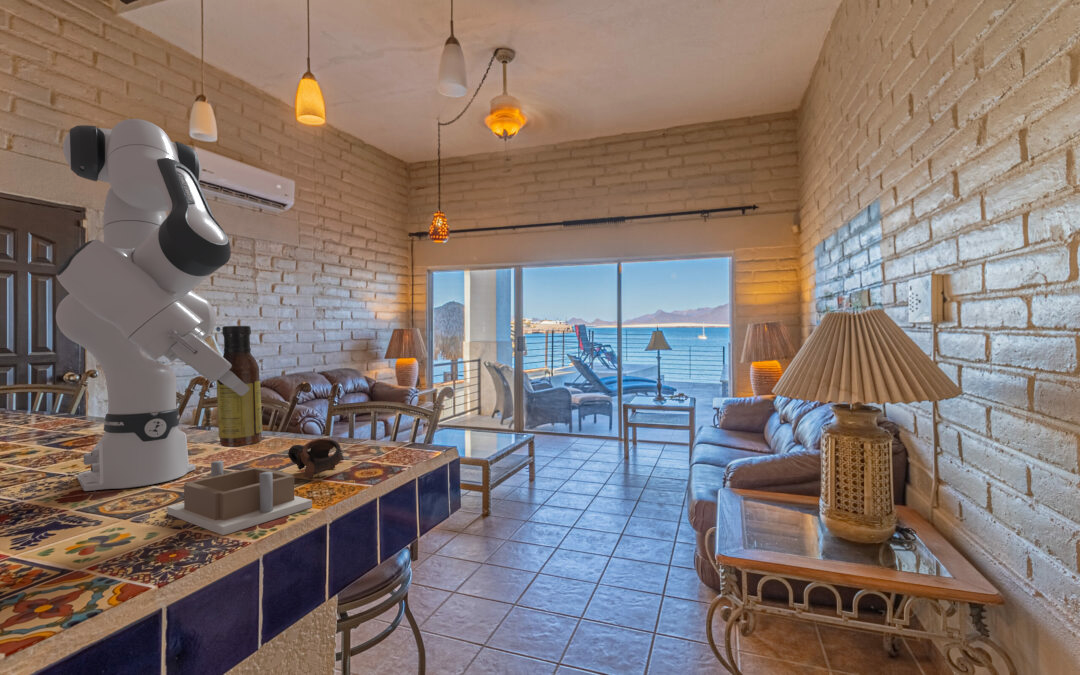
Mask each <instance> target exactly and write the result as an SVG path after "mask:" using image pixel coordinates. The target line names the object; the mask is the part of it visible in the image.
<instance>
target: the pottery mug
mask: <svg viewBox="0 0 1080 675" xmlns="http://www.w3.org/2000/svg"><path fill="white" fill-rule="evenodd" d="M334 448H335V452H334V453H333V454H331V455H329V453H330V451H331V450H333V449H334ZM342 452H343V450H342V449H341V446H340V443H339V442H338V441H336V440H333V439H330V438H322V437H321V438H315V439H312V440H309V441H308V442H307V443H306V444H305V445H302V444H293V445H292V446H290V448H289V449H288V452H287V455H288V457H289V459H290V461H291V462H292V463H293V464H295V465H296V466H297V468H298V470H300V471H301V470H303V469H304V468H305V469H304V472H303V473H304V474H303V476H304V477H305V478H307V479H310V480H311V479H312V478H313V477H314V475H317V474H320V473H323V472H326V471H329V470H331V469H334V468H335V467H336V466H337V465H338V464H340V462H341V461H345V458H344V455H343V453H342Z"/></svg>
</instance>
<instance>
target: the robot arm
mask: <svg viewBox="0 0 1080 675" xmlns="http://www.w3.org/2000/svg"><path fill="white" fill-rule="evenodd" d="M62 146H63V147H62V149H63V155H64V158H65V161H66V162H67V164H68V165H69V167H70V170H71V172H73V173H74V174H75V175H77V177H80V178H83V179H85V180H89V181H93V182H98V181H100V182H104V183H106V184H109V185H110V187H109V189H108V191H107V193H106V196H105V201H104V206H103V218H102V220H103V221H102V229H103V230H102V231H103V241H102V240H100V239H92V240H89V241H86V242H85V243H83V244H81V245H80V246H79V247H78V248H76V249H75V250H74V252H73V253H71V254H70V255H68V256H67V257H66V258H65V259H64V261H62V263H60V264H59V266H58V267H57V269H56V274H55V276H56V278H57V280H58V283H60V285H61V286H62V287H63V288H64V290H66V292H68V293H69V294H67V295H66V296H65V297H64V298H63V299H62V300H61V301H60V302H59V304H58V305H57V308H56V313H55V321H56V325H57V327H58V329H59V330H60V332H61V333H62V334H63V335H64V336H65V337H66V338H67V339H69V341H72V342H73V343H75V344H77V345H79V346H80V347H82V348H83V349H85V350H86V351H87V352H89V353H90V354H91V355H92V356H93V357H94V358H95V359H96V361H97V362H98V364H99V365H100V367H101V370H102V372H103V374H104V376H105V383H106V391H107V403H108V404H107V408H108V409H107V410H108V411H107V413H106V414H105V419H104V421H103V432H104V434H103V435H102V437H101V438H100V439H99V441H98V442H97V444H96V445H95V446H94V448H93V449H92V450H91V452H87V453H83V464H84V465H85V466H88V465H91V467H90V470H86V471H83V472H80V473H78V474H77V480H78V482H79V485H80V487H81V488H82V490H83V491H84V492H89V491H97V490H98V491H99V490H110V489H111V490H112V489H113V490H115V489H130V488H137V487H145V486H149V485H154V484H159V483H160V484H161V483H165V482H169V481H172V480H176V479H179V478H181V477H183V476H185V475H187V474H188V473H190V472H192V471H194V470H196V464H194V463H189V462H190V460H189V453H188V452H189V451H188V442H187V441H188V438H187V434H186V433H185V432H184V431H182V430H181V429H180V428H179V426H180V411H179V410H180V409H179V408H177V376H176V373H175V372H174V371H173V369H171V367H169V366H168V365H165V364H164V363H161V362H159V361H156V360H159V359H160V358H161V357H165V358H166V359H168V360H169V361H170V362H174V361H175V360H180V361H181V362H183V363H185V364H186V365H187V366H189V367H190V368H192V369H193V370H195V371H196V372H197V373H198V374H200V375H201V376H202V377H203V378H204V379H206V380H208V381H209V382H211V383H215V382H216V383H217V380H219V381H220V382H221V383H223V384H224V385H226V386H227V387H229V388H230V389H232V390H233V391H235V392H236V393H237V394H238V395H240V396H243V395H245V394H246V393H247V392H248V391H249V387H248V386H247V385H246V384H245V383H243V382H242V381H241V380H240V379H239V378H238V377H237V376H236V375H235V374H234V373H233V372H231V371H230V370H229V369H230V368H231V367H232V365H231V364H230V363H229V362H228V361H227V360H226V359H225V358H224V357H223V356H222V355H221V354H220V353H218V351H217V350H215V349H214V348H213V347H211V345H210V344H209V343H208V342H207V341H206V339H207V338H208V337H210V335H211V334H212V332H213V331H214V329H215V326H216V321H217V316H216V312H215V309H214V307H213V306H212V304H211V302H209V301H208V300H207V299H206V298H204V297H203V296H201V295H199V294H197V293H196V292H195V291H194V289H195V288H196V287H198V286H199V285H200V284H201V283H202V282H203V281H204V280H206V278H208V277H209V276H210V275H212V274H213V273H215V272H216V271H218V270H219V269H220V268H222V267H223V266H225V265H226V264H227V263H228V262H229V261H230V259H231V257H232V256H231V255H232V254H231V253H232V252H231V250H232V249H231V244H230V240H229V237H228V236H227V233H226V232H225V230H224V229H223V228H222V226H221V225H220V224H219V223H218V221H217V220H216V218H215V216H214V213H213V211H212V209H211V206H210V204H209V203H208V200H207V198H206V195H205V193H204V191H203V188H202V186H201V184H200V180H201V177H202V173H203V172H202V171H203V170H202V169H203V168H202V164H201V161H200V159H199V156H198V155H199V154H198V153H197V152H196V150H195V149H194V148H193V147H191V146H189V145H187V144H184V143H181V142H179V141H174V142H173V141H171V139H170V137H169V135H168V134H167V133H166V132H165V131H164V130H163V128H161V127H160V126H158V125H156V124H155V123H153V122H151V121H148V120H145V119H141V118H127V119H124V120H121V121H119V122H118V123H116V124H115V125H114V126H113V127H112V128H101V127H97V126H96V125H89V124H88V125H84V124H83V125H75V126H73V127H72V128H70V129H69V132H68V133H67V134H66V136H65V138H64V140H63V145H62ZM167 212H168V214H167ZM141 351H142V352H144V353H145V354H146V355H148V356H149V357H150V358H152V359H150V358H147V357H146V356H144V355H143V354H142V352H141Z"/></svg>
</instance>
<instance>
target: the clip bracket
mask: <svg viewBox="0 0 1080 675" xmlns="http://www.w3.org/2000/svg"><path fill="white" fill-rule="evenodd" d="M210 474H211V475H210V476H208V477H203V478H199V479H194V480H191V481H190V480H189V481H186V482H184V484H183V488H184V489H183V490H184V491H183V493H184V496H183V498H184V499H183V500H184V502H181V503H177V504H173V505H172V504H171V505H169V506H167V508H166V510H167V512H166V513H167V515H169V516H171V517H174V518H177V519H179V520H181V521H185V522H188V523H190V524H192V525H195V526H198V527H200V528H202V529H206V530H207V531H210V532H213V533H216V534H218V535H221V536H225V535H229V534H232V533H235V532H239V531H242V530H244V529H248V528H250V527H251V528H252V527H254V526H257V525H260V524H264V523H266V522H270V521H273V520H276V519H279V518H283V517H286V516H289V515H291V514H292V515H293V514H295V513H299V512H301V511H302V512H303V511H305V510H309V509H311V508H313V500H312V499H308V498H307V497H306V498H304V497H301V496H298V495H295V476H294V474H292V473H289V472H283V471H281V470H275V469H271V468H266V467H250V468H244V469H241V470H236V471H231V472H226V473H224V460H215V461H211V463H210Z"/></svg>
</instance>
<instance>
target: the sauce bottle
mask: <svg viewBox="0 0 1080 675" xmlns="http://www.w3.org/2000/svg"><path fill="white" fill-rule="evenodd" d="M221 333H222V337H223V346H224V348H223V356H222V357H224V358H225V359H226V360H227V361H228V362H229V363H230V364H231V365H232V367H231V368H230V369H229V370H230V371H231V372H233V373H234V374H235V375H236V376H237V377H238V378H239V379H240V380H241V381H242V382H243V383H245V384H246V385H247V386H248V387H249V391H248V392H247V393H246V394H245V395H243V396H240V395H238V394H237V393H236V392H235V391H233V390H232V389H230V388H229V387H227V386H226V385H224V384H223V383H221V382H220V381H219V380H217V381H216V396H217V397H216V398H217V401H216V402H217V421H218V424H217V425H218V426H217V428H218V437H219V443H220V446H221V447H224V448H241V447H246V446H254V445H257V444H259V443H261V442H262V439H263V436H262V432H263V417H262V395H261V392H262V391H261V380H260V366H259V364H258V362H257V360H256V359H255V357H254V356H253V354H252V353H251V352H252V351H251V350H252V348H251V342H250V340H251V333H252V330H251V325H225V326H222V328H221Z"/></svg>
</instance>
